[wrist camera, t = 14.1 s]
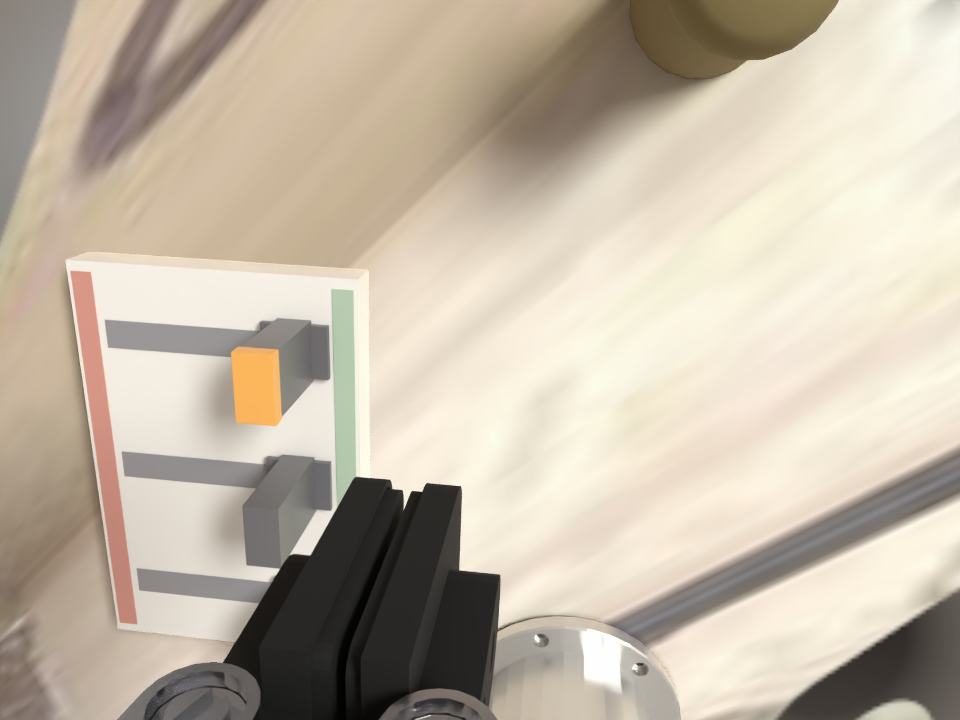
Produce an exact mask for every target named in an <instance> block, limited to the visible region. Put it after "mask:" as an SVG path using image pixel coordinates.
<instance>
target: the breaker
mask: <svg viewBox="0 0 960 720" xmlns="http://www.w3.org/2000/svg"><path fill="white" fill-rule="evenodd" d="M266 468H267V475H266V477H265V478H264V479H263V480H262V482H261V483H260V484H259V485H258V487H257V488H256V489H255V490H254V492H253V493H252V494H251V495H250V497H249V498H248V499H247V501H246V502H245V503H244V504H243V506H242V511H243V525H244V539H245V552H246V565H248V566H258V567H268V568H277V569H280V568H281V567H282V565H283V563H284V562H285V560H286V559H287V558H288V557H289V555H290V554H291V552H292V550H293V549H294V547H295V546H296V544H297V542H298V541H299V539H300V537H301V536H302V534H303V532H304V531H305V529H306V527H307V526H308V524H309V522H310V521H311V519H312V517H313V516H314V514H315V513H316V510H326V511H331V510H332V471H331V461H321V460H315V457H306V456H295V455H284V454H283V455H282V456H281V457H276V456H268V457H267V458H266Z"/></svg>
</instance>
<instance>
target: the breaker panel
mask: <svg viewBox="0 0 960 720" xmlns="http://www.w3.org/2000/svg"><path fill="white" fill-rule="evenodd" d="M66 267H67V274H68V281H69V288H70V295H71V302H72V309H73V316H74V323H75V330H76V337H77V344H78V351H79V358H80V365H81V372H82V380H83V387H84V394H85V401H86V408H87V415H88V422H89V429H90V436H91V443H92V450H93V457H94V464H95V471H96V478H97V485H98V492H99V499H100V506H101V513H102V520H103V527H104V534H105V541H106V548H107V555H108V562H109V569H110V576H111V583H112V590H113V597H114V604H115V611H116V618H117V625H118V629H123V630H132V631H140V632H149V633H158V634H167V635H176V636H184V637H193V638H202V639H211V640H219V641H228V642H236V641H237V639H238V637H239V636H240V634H241V632H242V631H243V629H244V627H245V626H246V624H247V622H248V621H249V619H250V618H251V616H252V614H253V613H254V611H255V609H256V608H257V606H258V604H259V603H260V601H261V599H262V598H263V596H264V595H265V593H266V591H267V590H268V588H269V586H270V585H271V583H272V581H273V578H274V577H275V576H276V575H277V573H278V571H279V570H280V569H277V568H268V567H258V566H248V565H246V552H245V539H244V525H243V511H242V506H243V504H244V503H245V502H246V501H247V499H248V498H249V497H250V495H251V494H252V493H253V492H254V490H255V489H256V488H257V487H258V485H259V484H260V483H261V482H262V480H263V479H264V478H265V477H266V475H267V468H266V458H267V457H268V456H276V457H281V456H282V455H283V454H284V455H295V456H306V457H315V460H321V461H331V471H332V510H331V511H326V510H316V513H315V514H314V516H313V517H312V519H311V521H310V522H309V524H308V526H307V527H306V529H305V531H304V532H303V534H302V536H301V537H300V539H299V541H298V542H297V544H296V546H295V547H294V549H293V550H292V552H291V554H290V555H292V554H301V555H311V553H312V552H313V550H314V548H315V546H316V544H317V543H318V541H319V539H320V537H321V536H322V534H323V532H324V530H325V528H326V527H327V525H328V523H329V521H330V519H331V518H332V516H333V514H334V512H335V511H336V509H337V507H338V505H339V503H340V502H341V500H342V498H343V496H344V495H345V493H346V491H347V489H348V487H349V486H350V484H351V482H352V480H353V479H354V478H355V477H364V478H370V362H369V270H364V269H349V268H334V267H319V266H304V265H289V264H274V263H259V262H244V261H229V260H214V259H199V258H183V257H168V256H153V255H138V254H123V253H108V252H93V251H90V252H87V253H84V254H81V255H78V256H75V257H72V258H69V259H66ZM277 318H284V319H298V320H311V324H318V325H329V344H330V379H329V380H319V379H313V382H312V383H311V385H310V386H309V387H308V388H307V389H306V390H305V391H304V393H303V394H302V395H301V396H300V397H299V398H298V399H297V400H296V402H295V403H294V404H293V405H292V406H291V407H290V408H289V409H288V411H287V412H286V413H285V414H284V415H283V416H282V420H281V421H280V422H279V423H278V425H277V426H267V425H255V424H243V423H236V415H235V401H234V387H233V373H232V359H231V352H232V351H233V350H234V349H236V348H237V347H241V346H242V345H244V344H245V343H246V342H247V341H249V340H250V339H251V338H253V337H254V336H255V335H256V334H258V333H259V332H260V324H259V322H260V321H262V320H264V321H274V320H276V319H277Z"/></svg>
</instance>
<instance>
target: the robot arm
mask: <svg viewBox="0 0 960 720" xmlns="http://www.w3.org/2000/svg"><path fill="white" fill-rule="evenodd" d="M461 504H462V490H461V486H452V485H441V484H430V483H426V485H425V487H424V489H423V492H417V491H412V492H411V494H410V496H409V499H408V501H407V504H406V506H405V509H404V511H403V508H404V498H403V491H402V490H395V489H392V484H391V481H390V480H386V479H375V478H364V477H355V478H354V479H353V480H352V482H351V484H350V486H349V487H348V489H347V491H346V493H345V495H344V496H343V498H342V500H341V502H340V503H339V505H338V507H337V509H336V511H335V512H334V514H333V516H332V518H331V519H330V521H329V523H328V525H327V527H326V528H325V530H324V532H323V534H322V536H321V537H320V539H319V541H318V543H317V544H316V546H315V548H314V550H313V552H312V553H311V555H301V554H292V555H289V557H288V558H287V559H286V560H285V562H284V563H283V565H282V567H281V568H280V570H279V571H278V573H277V575H276V576H275V578H274V580H273V581H272V583H271V585H270V586H269V588H268V590H267V591H266V593H265V595H264V596H263V598H262V599H261V601H260V603H259V604H258V606H257V608H256V609H255V611H254V613H253V614H252V616H251V618H250V619H249V621H248V622H247V624H246V626H245V627H244V629H243V631H242V632H241V634H240V636H239V637H238V639H237V641H236V642H235V644H234V645H233V647H232V649H231V650H230V652H229V654H228V655H227V657H226V659H225V660H224V662H223V663H217V662H210V663H201V664H193V665H190V666H187V667H184V668H181V669H177V670H175V671H173V672H171V673H169V674H167V675H165V676H164V677H162V678H160V679H158V680H157V681H155V682H154V683H153V684H152V685H151V686H150V687H148V688H147V689H146V690H145V691H144V692H143V693H142V694H141V695H140V696H139V697H138V698H137V699H136V700H135V701H134V702H133V703H132V704H131V705H130V707H129V708H128V709H127V710H126V711H125V712H124V713H123V714H122V715H121V716H120V717H119V718H118V719H117V720H681V716H680V708H679V701H678V697H677V693H676V689H675V685H674V683H673V681H672V679H671V677H670V675H669V673H668V671H667V669H666V668H665V667H664V665H663V664H662V663H661V662H660V660H659V659H658V658H657V657H656V655H655V654H654V653H653V652H652V651H650V650H649V649H648V648H647V647H646V646H644V645H643V644H642V643H641V642H640V641H639V640H637V639H635V638H634V637H632V636H630V635H628V634H627V633H625V632H623V631H621V630H620V629H617V628H615V627H612V626H609V625H607V624H604V623H601V622H599V621H594V620H589V619H584V618H579V617H564V616H551V617H542V618H534V619H530V620H526V621H523V622H519V623H516V624H512V625H510V626H508V627H506V628H504V629H502V630H500V631H498V617H499V600H500V575H498V574H488V573H478V572H468V571H459V558H460V531H461ZM497 631H498V632H497Z"/></svg>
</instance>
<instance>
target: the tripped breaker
mask: <svg viewBox="0 0 960 720" xmlns="http://www.w3.org/2000/svg"><path fill="white" fill-rule="evenodd" d="M259 324H260V332H259V333H258V334H256V335H255V336H254V337H253V338H251V339H250V340H249V341H247V342H246V343H245V344H244V345H242V346H241V347H237V348H236V349H234V350H233V351H232V352H231V359H232V373H233V387H234V401H235V415H236V423H243V424H255V425H267V426H277V425H278V423H279V422H280V421H281V420H282V416H283V415H284V414H285V413H286V412H287V411H288V409H289V408H290V407H291V406H292V405H293V404H294V403H295V402H296V400H297V399H298V398H299V397H300V396H301V395H302V394H303V393H304V391H305V390H306V389H307V388H308V387H309V386H310V385H311V383H312V382H313V379H319V380H329V379H330V344H329V325H318V324H311V320H298V319H284V318H277V319H276V320H274V321H264V320H262V321H260V322H259Z"/></svg>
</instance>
